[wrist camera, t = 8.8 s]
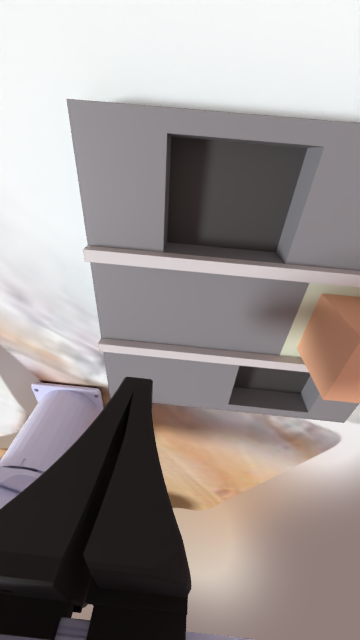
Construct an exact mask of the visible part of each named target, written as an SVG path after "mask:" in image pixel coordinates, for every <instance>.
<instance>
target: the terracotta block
mask: <svg viewBox="0 0 360 640" xmlns="http://www.w3.org/2000/svg"><path fill="white" fill-rule="evenodd" d="M297 350H298V352H299V354H300V356H301V358H302V360H303V362H304V364H305V366H306V367H307V369H308V371H309V373H310V375H311V377H312V379H313V381H314V383H315V385H316V387H317V389H318V391H319V393H320V395H321V397H322V399H323V400H331V401H341V402H351V403H360V297H354V296H343V295H333V294H321V296H320V298H319V300H318V302H317V305H316V307H315V309H314V311H313V313H312V316H311V318H310V320H309V322H308V324H307V326H306V329H305V331H304V333H303V335H302V337H301V340H300V342H299V344H298V346H297Z"/></svg>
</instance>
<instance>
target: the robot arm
mask: <svg viewBox="0 0 360 640" xmlns="http://www.w3.org/2000/svg"><path fill="white" fill-rule="evenodd" d="M31 387H32V390H33V392H34V394H35V396H36V399H37V401H38V405H37V406H36V407H35V409H34V410H33V412H32V414H31V415H30V417H29V418H28V420H27V421H26V423H25V424H24V426H23V427H22V429H21V430H20V432H19V433H18V435H17V436H16V438H15V439H14V441H13V442H12V444H11V445H10V447H9V448H8V450H7V451H6V453H5V454H4V456H3V457H2V459H1V460H0V640H255V639H247V638H238V637H229V636H220V635H212V634H202V633H195V632H186V615H187V601H188V600H187V599H188V594H189V592H190V590H191V577H190V571H189V566H188V562H187V557H186V553H185V548H184V544H183V540H182V536H181V534H180V531H179V528H178V525H177V522H176V519H175V516H174V513H173V510H172V506H171V503H170V500H169V496H168V493H167V489H166V485H165V482H164V478H163V474H162V470H161V466H160V462H159V457H158V452H157V447H156V442H155V436H154V429H153V421H152V411H151V409H152V393H153V381H152V380H151V379H145V378H136V377H125V378H124V379H123V381H122V383H121V384H120V386H119V388H118V389H117V391H116V392H115V394H114V395H113V396H112V398H111V399H110V401H109V402H108V403H107V405H106V406H105V407H103V401H102V396H101V391H100V390H99V389H97V388H89V387H79V386H70V385H60V384H50V383H41V382H33V384H32V385H31ZM87 604H92V605H93V606H94V608H93V612H92V616H91V620H82V619H73V618H71V616H72V613H73V612H78V613H81V611H82V608H84V607H85V606H87Z"/></svg>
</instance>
